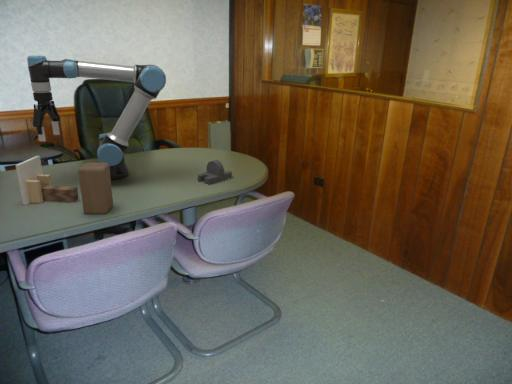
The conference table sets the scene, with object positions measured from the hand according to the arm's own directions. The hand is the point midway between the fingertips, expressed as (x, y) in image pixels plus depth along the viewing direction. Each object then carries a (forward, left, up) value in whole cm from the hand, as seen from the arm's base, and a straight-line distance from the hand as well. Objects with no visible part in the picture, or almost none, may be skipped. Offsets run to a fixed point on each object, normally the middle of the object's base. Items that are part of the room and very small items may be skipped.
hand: (49, 137), depth 179 cm
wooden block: (-32, +24, -25) cm, 47 cm away
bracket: (-75, -24, -25) cm, 83 cm away
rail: (-9, +17, -25) cm, 31 cm away
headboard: (-2, +16, -24) cm, 30 cm away
